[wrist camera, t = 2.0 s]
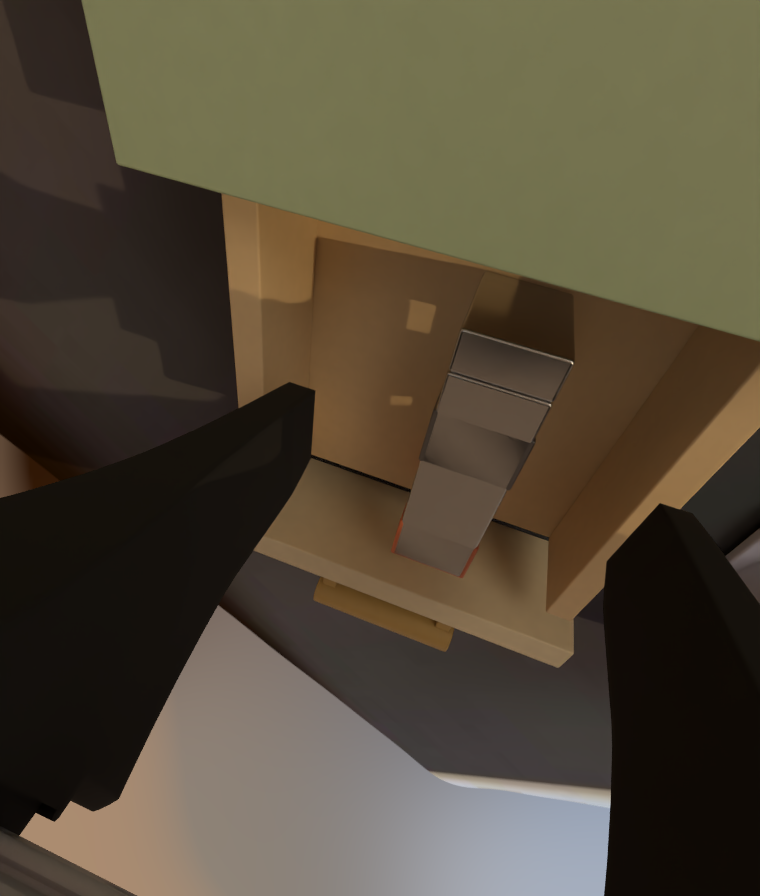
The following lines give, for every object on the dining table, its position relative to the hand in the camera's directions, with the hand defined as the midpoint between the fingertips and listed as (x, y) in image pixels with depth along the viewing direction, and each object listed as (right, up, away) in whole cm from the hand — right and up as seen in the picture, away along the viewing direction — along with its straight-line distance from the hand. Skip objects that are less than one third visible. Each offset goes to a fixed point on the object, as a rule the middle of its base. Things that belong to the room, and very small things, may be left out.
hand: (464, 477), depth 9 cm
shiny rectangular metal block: (+1, +2, +4) cm, 4 cm away
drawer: (+1, +2, +6) cm, 6 cm away
